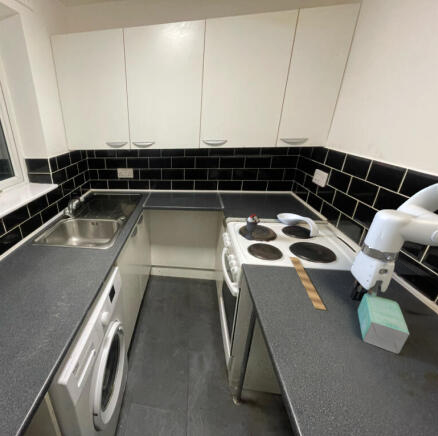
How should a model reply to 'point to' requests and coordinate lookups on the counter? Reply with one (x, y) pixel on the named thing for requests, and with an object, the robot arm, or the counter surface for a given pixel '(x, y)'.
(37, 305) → the counter surface
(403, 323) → the box
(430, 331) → the counter surface
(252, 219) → the sundae
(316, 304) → the strip
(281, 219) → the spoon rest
